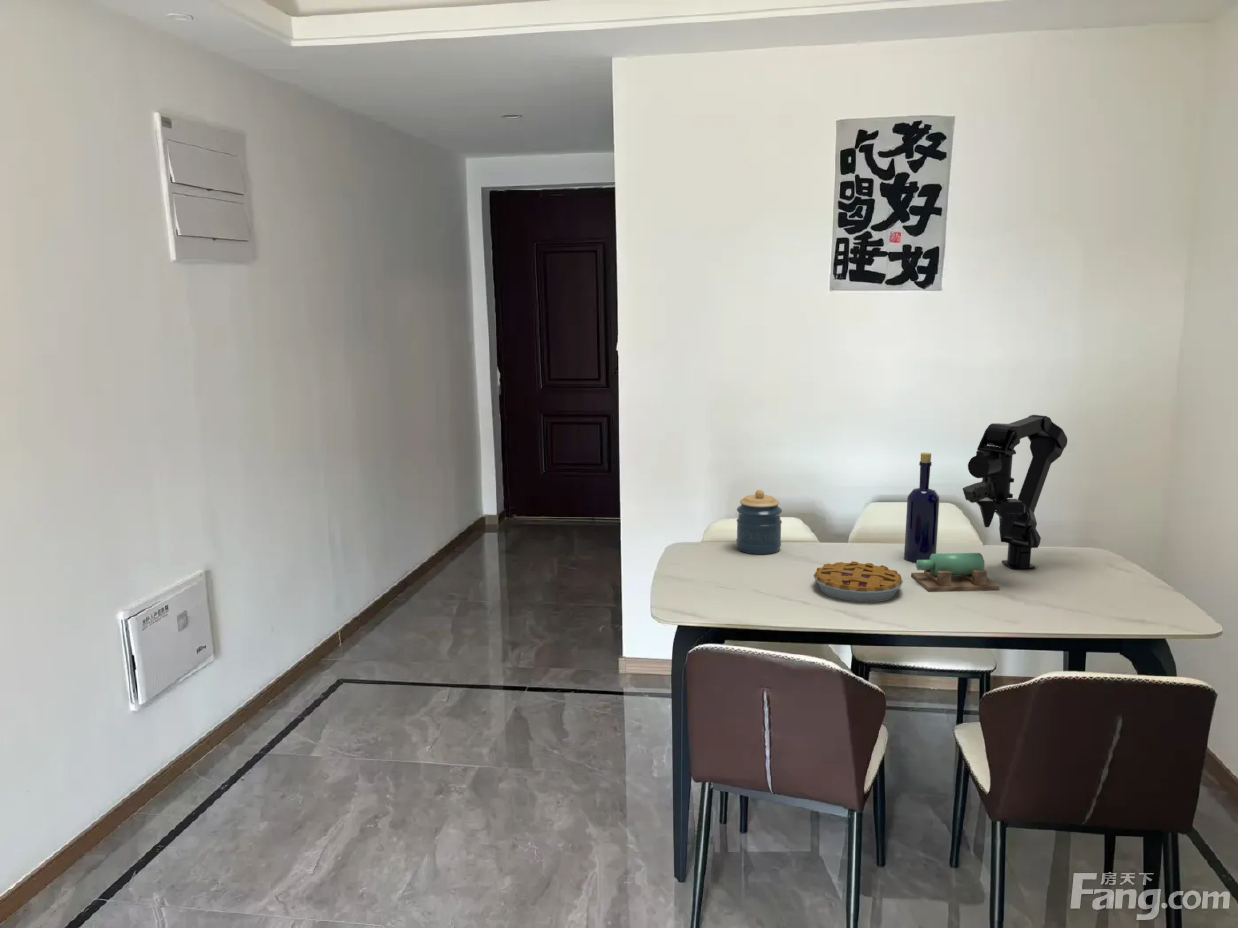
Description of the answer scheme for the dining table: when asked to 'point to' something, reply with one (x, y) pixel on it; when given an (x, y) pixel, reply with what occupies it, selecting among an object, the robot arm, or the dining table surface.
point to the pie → (858, 581)
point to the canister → (759, 524)
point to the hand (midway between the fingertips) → (994, 531)
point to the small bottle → (952, 563)
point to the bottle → (922, 517)
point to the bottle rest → (955, 581)
